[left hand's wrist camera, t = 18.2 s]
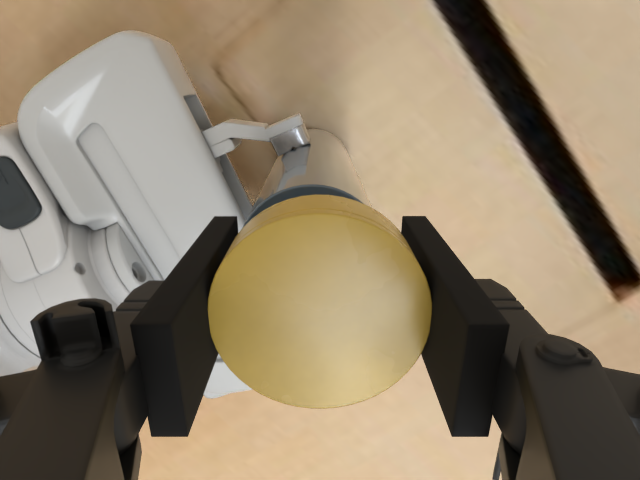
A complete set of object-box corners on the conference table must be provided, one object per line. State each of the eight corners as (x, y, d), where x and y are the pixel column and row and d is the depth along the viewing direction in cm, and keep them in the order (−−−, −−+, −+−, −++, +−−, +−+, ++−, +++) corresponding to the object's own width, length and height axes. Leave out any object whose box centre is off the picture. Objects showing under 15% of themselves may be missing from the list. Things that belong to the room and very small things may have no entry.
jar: (288, 207, 29) (257, 360, 13) (268, 139, 28) (204, 221, 12) (356, 190, 29) (407, 327, 13) (340, 120, 27) (376, 177, 11)
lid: (444, 218, 11) (465, 241, 9) (386, 382, 13) (396, 424, 11) (237, 173, 11) (223, 189, 9) (210, 350, 12) (194, 389, 11)
